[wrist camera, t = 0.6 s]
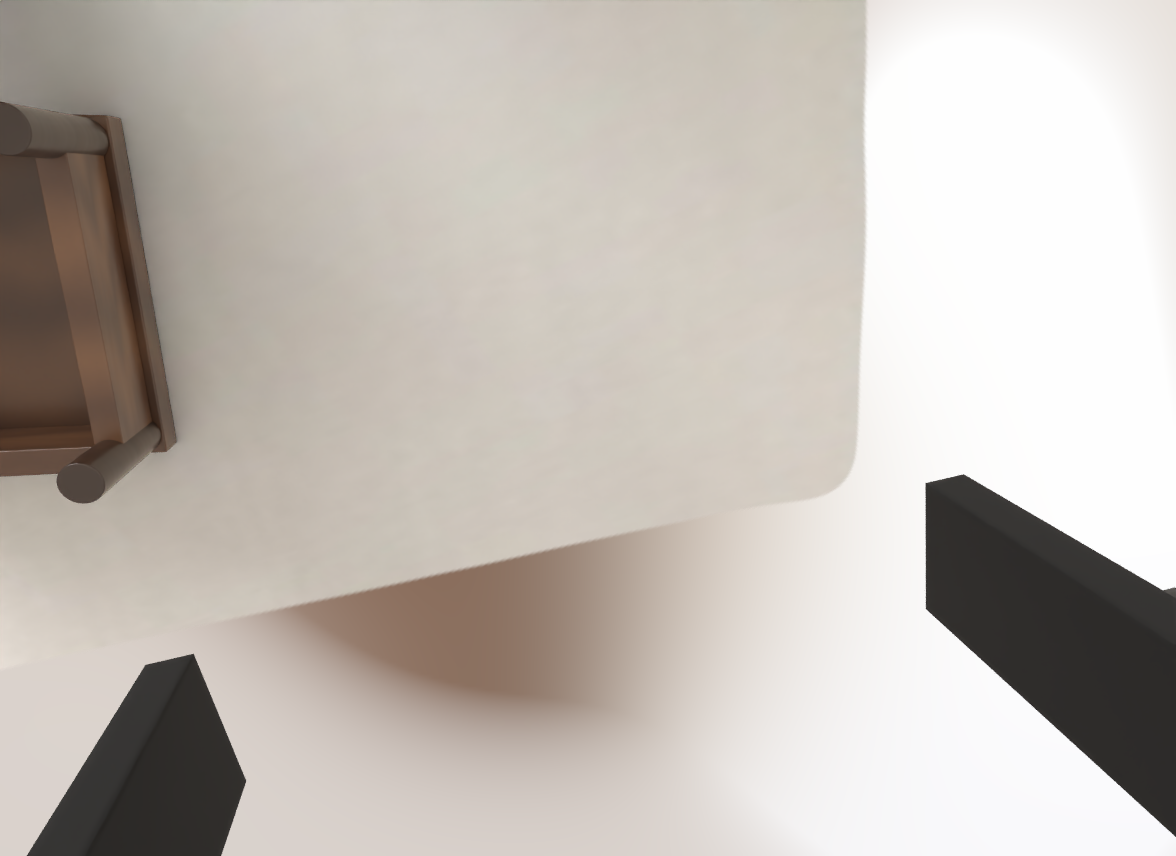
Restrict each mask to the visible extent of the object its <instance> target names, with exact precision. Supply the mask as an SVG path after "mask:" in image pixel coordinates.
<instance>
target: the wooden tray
mask: <svg viewBox="0 0 1176 856" xmlns="http://www.w3.org/2000/svg"><path fill="white" fill-rule="evenodd" d="M176 442H177V441H176V436H175V430H174V424H173V418H172V412H171V407H170V401H169V395H168V389H167V383H166V378H165V372H164V366H163V360H162V354H161V349H160V343H159V337H158V331H157V326H156V320H155V314H154V308H153V302H152V297H151V291H150V285H149V279H148V273H147V268H146V262H145V256H144V250H143V245H142V239H141V233H140V227H139V221H138V216H137V210H136V204H135V198H134V192H133V187H132V181H131V175H130V169H129V163H128V158H127V152H126V146H125V140H124V135H123V129H122V123H121V119H120V118H117V117H112V116H107V115H71V114H65V113H59V112H54V111H49V110H43V109H38V108H32V107H27V106H22V105H16V104H11V103H5V102H0V477H1V476H21V475H40V474H58V476H57V486H58V489H59V490H60V492H61V493H62V494H63V495H64V496H65V497H66V498H67V499H69V500H71V501H73V502H77V503H91V502H94V501H96V500H98V499H99V498H100V497H101V496H102V495H104V494H105V493H106V492H107V491H108V490H109V489H110V488H111V487H113V486H114V485H115V484H116V483H117V482H118V481H119V480H120V479H122V478H123V477H124V476H125V475H126V474H127V473H128V472H129V471H130V470H132V469H133V468H134V467H135V466H136V465H137V464H138V463H139V462H141V461H142V460H143V459H144V458H145V457H146V456H147V455H148V454H150V453H152V452H167V451H168V450H169V449H170V448H171V447H172V446H173V445H174V444H175V443H176Z"/></svg>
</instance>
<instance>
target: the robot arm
mask: <svg viewBox="0 0 1176 856" xmlns="http://www.w3.org/2000/svg"><path fill="white" fill-rule="evenodd" d="M926 609H927V610H928V611H929V612H930V613H931V614H932V615H933V616H934V617H935V618H936V619H937V620H939V621H940V622H941V623H942V624H943V625H944V626H945V627H946V628H947V629H949V630H950V631H951V632H952V633H953V634H954V635H955V636H956V637H957V638H958V639H959V640H961V641H962V642H963V643H964V644H965V645H966V646H967V647H968V648H969V649H970V650H971V651H973V652H974V653H975V654H976V655H977V656H978V657H979V658H981V660H982V661H984V662H985V663H986V664H987V665H988V666H989V667H990V668H991V669H993V670H994V671H995V672H996V673H997V674H998V675H999V676H1000V677H1001V678H1002V679H1003V680H1004V681H1005V682H1007V683H1008V684H1009V685H1010V686H1011V687H1012V688H1013V689H1014V690H1016V691H1017V692H1018V693H1019V694H1020V695H1021V696H1022V697H1023V698H1024V699H1025V700H1026V701H1028V702H1029V703H1030V704H1031V705H1032V706H1033V707H1034V708H1035V709H1036V710H1037V711H1038V712H1040V713H1041V714H1042V715H1043V716H1044V717H1045V718H1046V719H1047V720H1048V721H1049V722H1050V723H1052V724H1053V725H1054V726H1055V727H1056V728H1057V729H1058V730H1059V731H1060V732H1061V733H1063V734H1064V735H1065V736H1066V737H1067V738H1068V739H1069V740H1070V741H1071V742H1073V743H1074V744H1075V745H1076V746H1077V747H1078V748H1079V749H1080V750H1081V751H1082V752H1083V753H1085V754H1086V755H1087V756H1088V757H1089V758H1090V759H1091V760H1092V761H1093V762H1094V763H1095V764H1096V765H1098V766H1099V767H1100V768H1101V769H1102V770H1103V771H1104V772H1105V773H1106V774H1107V775H1109V776H1110V777H1111V778H1112V779H1113V780H1114V781H1115V782H1116V783H1117V784H1118V785H1120V786H1121V787H1122V788H1123V789H1124V790H1125V791H1126V792H1127V793H1128V794H1129V795H1131V796H1132V797H1133V798H1134V799H1135V800H1136V801H1137V802H1138V803H1139V804H1141V806H1143V807H1144V808H1145V809H1146V810H1147V811H1148V812H1149V813H1150V814H1151V815H1152V816H1154V817H1155V818H1156V819H1157V820H1158V821H1159V822H1160V823H1161V824H1162V825H1163V826H1164V827H1166V828H1167V829H1168V830H1169V831H1170V832H1171V833H1172V834H1173V835H1174V836H1175V837H1176V588H1171V589H1167V590H1161V589H1159V588H1158V587H1156V586H1154V585H1152V584H1151V583H1149V582H1147V581H1146V580H1144V579H1142V578H1140V577H1139V576H1137V575H1135V574H1133V573H1132V572H1130V571H1128V570H1127V569H1125V568H1123V567H1122V566H1120V565H1118V564H1116V563H1115V562H1113V561H1111V560H1110V559H1108V558H1106V557H1104V556H1103V555H1101V554H1099V553H1097V552H1096V551H1094V550H1092V549H1091V548H1089V547H1087V546H1086V545H1084V544H1082V543H1080V542H1079V541H1077V540H1075V539H1074V538H1072V537H1070V536H1068V535H1067V534H1065V533H1063V532H1062V531H1060V530H1058V529H1056V528H1055V527H1053V526H1051V525H1050V524H1048V523H1046V522H1044V521H1043V520H1041V519H1039V518H1037V517H1036V516H1034V515H1032V514H1031V513H1029V512H1027V511H1026V510H1024V509H1022V508H1020V507H1019V506H1017V505H1015V504H1013V503H1012V502H1010V501H1008V500H1007V499H1005V498H1003V497H1002V496H1000V495H998V494H996V493H995V492H993V491H991V490H990V489H987V488H986V487H984V486H983V485H981V484H979V483H977V482H976V481H974V480H972V479H971V478H969V477H967V476H965V475H959V476H955V477H951V478H946V479H942V480H938V481H933V482H929V483H926ZM245 783H246V779H245V777H244V775H243V772H242V770H241V767H240V765H239V763H238V760H237V758H236V755H235V753H234V750H233V748H232V746H231V743H230V741H229V738H228V736H227V733H226V731H225V729H224V726H223V724H222V721H221V719H220V717H219V714H218V712H217V709H216V707H215V704H214V702H213V700H212V697H211V695H210V692H209V690H208V688H207V685H206V683H205V680H204V678H203V676H202V673H201V671H200V668H199V666H198V663H197V661H196V659H195V656H194V654H191V655H187V656H183V657H178V658H174V659H170V660H166V661H161V662H157V663H152V664H148V665H145V667H144V669H143V670H142V672H141V673H140V675H139V676H138V678H137V680H136V681H135V683H134V684H133V686H132V688H131V689H130V691H129V692H128V694H127V696H126V697H125V699H124V700H123V702H122V704H121V705H120V707H119V709H118V710H117V712H116V713H115V715H114V717H113V718H112V720H111V721H110V723H109V725H108V726H107V728H106V730H105V731H104V733H103V735H102V736H101V737H100V739H99V741H98V742H97V744H96V745H95V747H94V749H93V750H92V752H91V754H90V755H89V757H88V758H87V760H86V762H85V763H84V765H83V766H82V768H81V770H80V771H79V773H78V775H77V776H76V778H75V780H74V781H73V782H72V784H71V786H70V787H69V789H68V790H67V792H66V794H65V795H64V797H63V799H62V800H61V802H60V803H59V805H58V807H57V808H56V810H55V812H54V813H53V815H52V816H51V818H50V819H49V821H48V823H47V825H46V826H45V827H44V829H43V831H42V832H41V834H40V835H39V837H38V839H37V840H36V842H35V844H34V845H33V847H32V848H31V850H30V852H29V853H28V855H27V856H221V854H222V851H223V848H224V845H225V842H226V840H227V836H228V834H229V830H230V828H231V825H232V822H233V819H234V816H235V813H236V810H237V807H238V804H239V801H240V798H241V795H242V792H243V789H244V786H245Z"/></svg>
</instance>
